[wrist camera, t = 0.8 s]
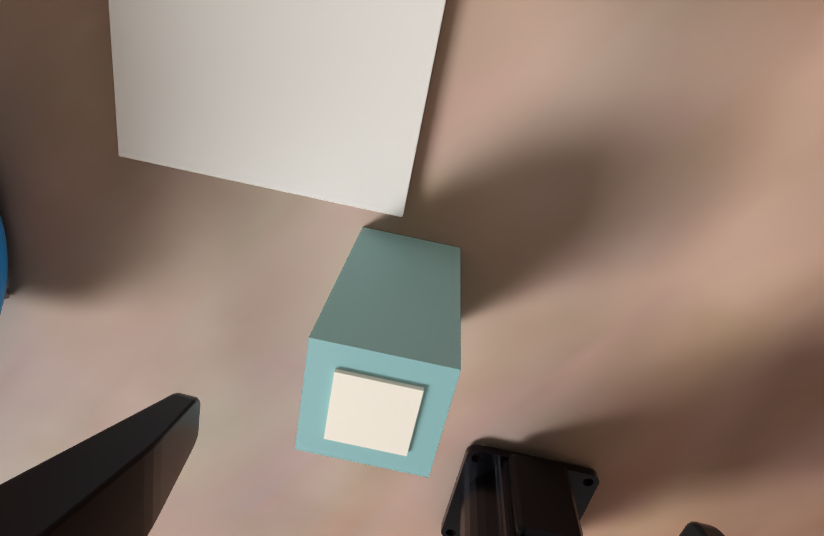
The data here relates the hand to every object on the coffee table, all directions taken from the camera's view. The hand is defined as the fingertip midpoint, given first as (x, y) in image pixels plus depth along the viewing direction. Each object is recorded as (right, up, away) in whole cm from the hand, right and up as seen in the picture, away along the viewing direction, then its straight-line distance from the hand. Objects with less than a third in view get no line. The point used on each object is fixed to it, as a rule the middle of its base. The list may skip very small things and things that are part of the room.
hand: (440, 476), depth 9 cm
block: (-1, +3, +12) cm, 12 cm away
